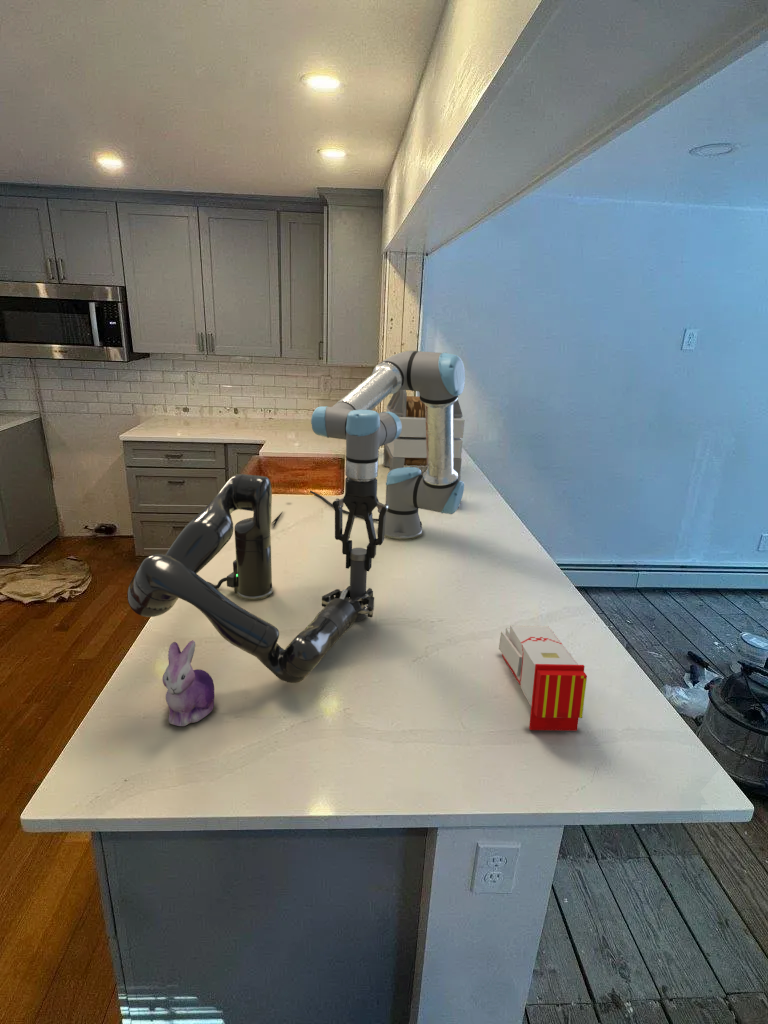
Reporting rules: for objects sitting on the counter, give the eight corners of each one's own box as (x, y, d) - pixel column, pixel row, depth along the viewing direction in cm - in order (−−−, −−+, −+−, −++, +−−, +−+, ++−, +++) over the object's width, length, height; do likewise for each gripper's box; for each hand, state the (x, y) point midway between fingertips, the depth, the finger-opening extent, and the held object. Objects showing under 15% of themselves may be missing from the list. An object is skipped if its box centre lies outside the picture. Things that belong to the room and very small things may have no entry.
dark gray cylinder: (351, 621, 143) (353, 557, 137) (347, 613, 147) (348, 550, 140) (367, 619, 144) (369, 555, 138) (362, 611, 148) (364, 548, 142)
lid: (352, 562, 137) (352, 555, 136) (347, 554, 141) (347, 548, 140) (370, 560, 139) (371, 554, 138) (364, 552, 143) (365, 546, 142)
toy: (545, 610, 133) (596, 671, 104) (540, 662, 136) (588, 737, 106) (494, 609, 133) (530, 670, 103) (490, 662, 135) (524, 736, 106)
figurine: (169, 735, 103) (162, 665, 98) (162, 702, 111) (154, 636, 106) (222, 721, 107) (218, 653, 102) (211, 689, 115) (206, 625, 110)
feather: (289, 506, 225) (292, 502, 225) (272, 529, 199) (275, 525, 198) (286, 503, 225) (288, 500, 225) (268, 527, 199) (271, 522, 198)
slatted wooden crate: (382, 463, 289) (386, 382, 275) (445, 464, 293) (451, 384, 279) (390, 482, 257) (394, 392, 243) (460, 483, 261) (468, 394, 247)
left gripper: (305, 628, 134) (336, 596, 149) (361, 642, 130) (387, 608, 145) (305, 600, 132) (337, 571, 147) (362, 613, 127) (388, 582, 142)
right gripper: (401, 476, 135) (396, 566, 142) (330, 469, 138) (329, 557, 146) (394, 485, 128) (389, 578, 136) (320, 477, 131) (320, 569, 139)
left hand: (362, 589), depth 146 cm, fingers closed on dark gray cylinder, 4 cm apart
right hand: (358, 567), depth 141 cm, fingers closed on lid, 4 cm apart
